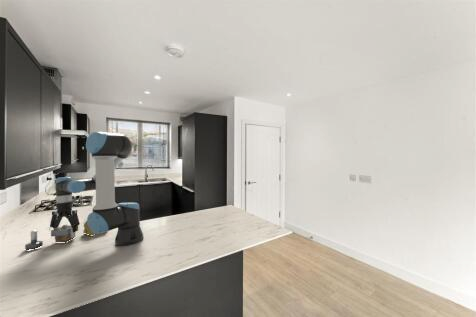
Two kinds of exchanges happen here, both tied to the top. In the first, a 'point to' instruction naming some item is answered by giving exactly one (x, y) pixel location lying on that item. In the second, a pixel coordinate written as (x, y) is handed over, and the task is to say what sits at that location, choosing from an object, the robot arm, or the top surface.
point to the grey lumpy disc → (62, 231)
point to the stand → (63, 238)
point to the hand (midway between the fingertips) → (65, 237)
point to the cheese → (87, 229)
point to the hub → (33, 241)
